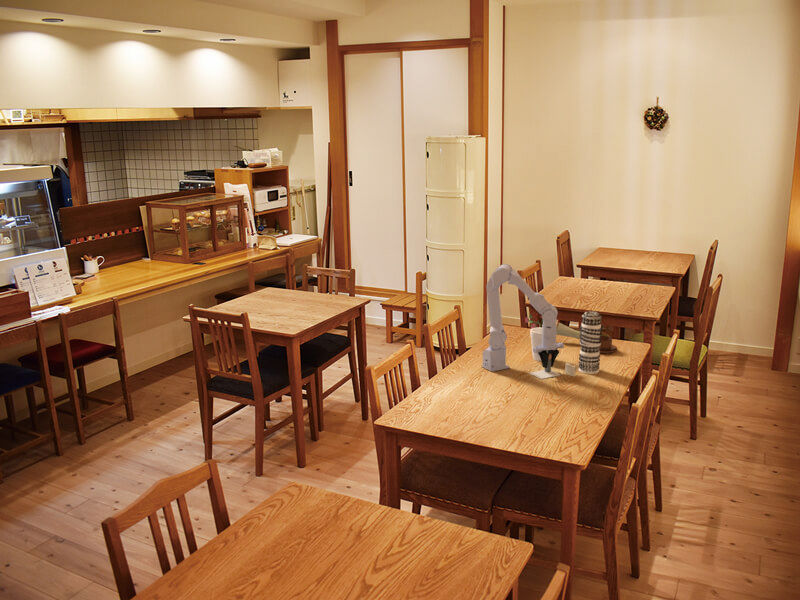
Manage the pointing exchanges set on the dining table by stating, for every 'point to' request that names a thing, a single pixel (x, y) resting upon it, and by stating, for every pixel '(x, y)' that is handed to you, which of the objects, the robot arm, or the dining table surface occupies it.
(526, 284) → the robot arm
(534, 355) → the foam cup
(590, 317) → the decorative candle
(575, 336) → the flower vase
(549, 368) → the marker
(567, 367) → the rectangular block
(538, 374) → the paper
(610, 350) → the cup and saucer
